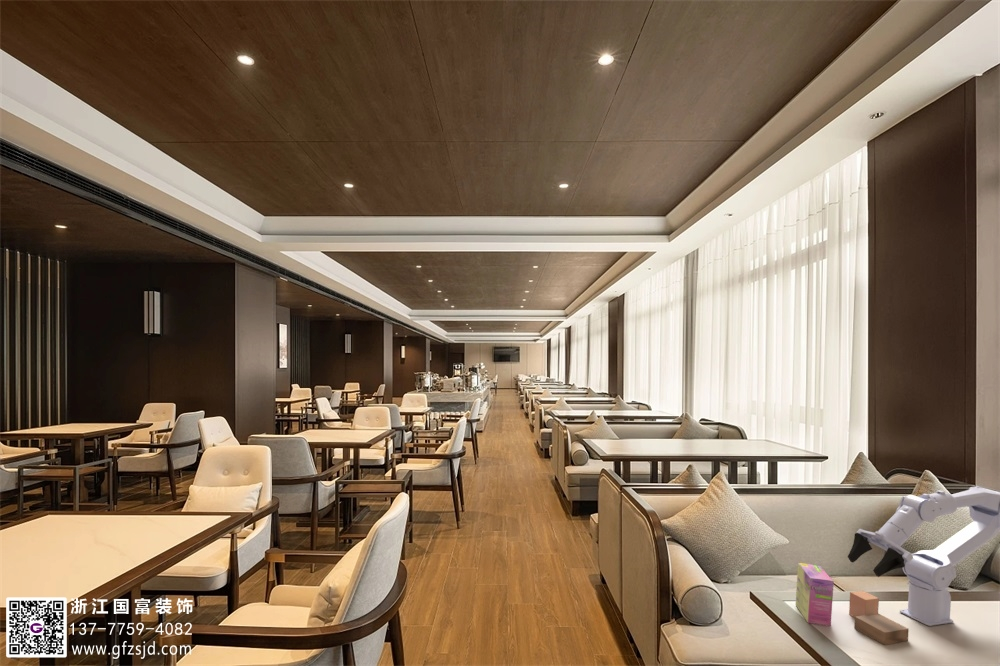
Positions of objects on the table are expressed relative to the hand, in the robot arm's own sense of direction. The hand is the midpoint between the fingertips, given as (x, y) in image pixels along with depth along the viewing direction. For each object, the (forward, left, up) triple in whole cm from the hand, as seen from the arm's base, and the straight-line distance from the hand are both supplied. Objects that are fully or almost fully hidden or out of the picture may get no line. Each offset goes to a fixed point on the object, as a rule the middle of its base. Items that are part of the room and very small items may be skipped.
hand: (862, 566), depth 149 cm
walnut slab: (+1, +6, -14) cm, 16 cm away
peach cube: (-3, -2, -15) cm, 15 cm away
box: (+10, -6, -15) cm, 19 cm away
